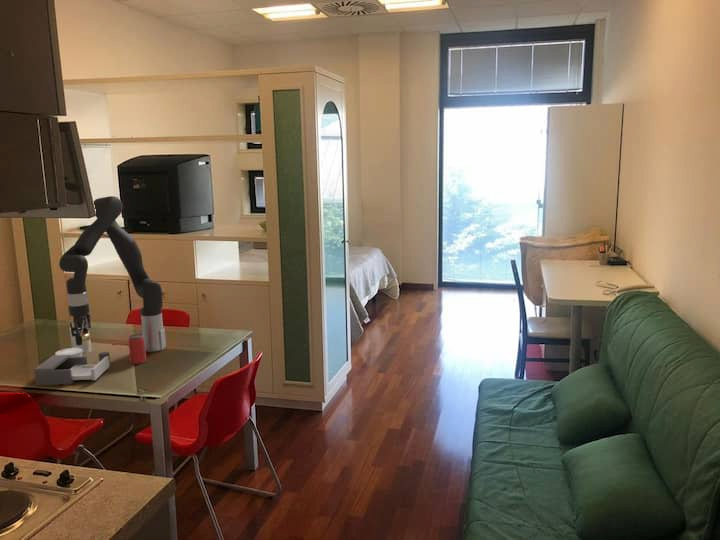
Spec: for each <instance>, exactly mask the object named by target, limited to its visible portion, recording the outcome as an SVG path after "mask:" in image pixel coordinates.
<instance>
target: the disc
mask: <svg viewBox="0 0 720 540" xmlns="http://www.w3.org/2000/svg"><path fill="white" fill-rule="evenodd" d="M81 336H82V341H86V340H89V339H90V340H91V334H90V332H89V333H88V332H82V335H81ZM74 341H76V338H75V337H74Z"/></svg>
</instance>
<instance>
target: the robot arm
mask: <svg viewBox="0 0 720 540" xmlns="http://www.w3.org/2000/svg"><path fill="white" fill-rule="evenodd" d="M93 202H94V205H95V209H96V216H95V217H96V220H94V221H93V222H92V223H91V224H90V225H88V227H86V228H85V229H84V230H83V231H82V233H81V234H80V235H79V237H78V238H77V240H76V241H75V244H73V245H72V246H71V247H70V248H69V249H68V250H66V251H65V252H64V253H63V254H62V255H61V257H60V259H59V261H58V263H59V265H58V266H59V268H60V270H61V271H63V272H65V273H73V277H70V278H68V279H67V280H66V283H65V285H66V291H67V305H68V306H67V307H68V314H69V316H70V317H73V321H72V322H70V323H69V329H70V328H71V333H72V336H74V337H75V338H76V345H82V336H81V335H82V331H83V332H88V331H89V332H90V329H91V328H92V325H91V314H90V307H89V306H90V305H89V296H88V293H87V285H86V281H87V280H86V279H87V276H88V275H87V274H88V269H89V262H88V259H87V258H86V257H87V256H90V255H91V254H92V252H93V250H94V249H95V247H96V246H97V244H98V242H99V241H100V239H101V238H102V236H103V235H104V234H105V233H106V234H107V236H108V237H109V240H110V242H111V244H112V245H113V247H114V249H115V252H116V254H117V255H118V258H119V259H120V261H121V263H122V265H123V267H124V268H125V270H126V272H127V273H128V275H129V277H130V280H131V282H132V285H133V287H134V291H135V293H136V295H137V296H138V297H140V298H141V299H142V301H143V302H142V304H143V305H142V307H141V308H140V318H141V319H140V320H141V327H142V328H141V329H142V335H143V338H144V341H145V351H146V352H151V353H152V352H153V353H154V352H158V351H164V349H165V348H166V347H167V341H166V330H165V327H164V325H163V323H164V322H163V313H162V308H163V290H162V286H161V284H160V283H159V282H157V281H155V280H153V279H151V278H150V277H149V275H148V273H147V271H146V270H145V268H144V264H143V255H142V251H141V250H140V248H139V246H138V245H139V244H138V243H137V242H136V240H135V239H134V237H133V236H132V235H130V234H129V233H128V232H127V231H126V230H124V229H123V228H122V227H121V226H120V224H119V223H118V221H116V220H117V219H118V217H119V216H120V215H121V214H122V212H123V209H124V206H123V202H122V200H121V199H120V198H119V197H117V196H113V195H112V196H111V195H110V196H105V197H103V196H102V197H99V198H96V199H95V200H94V201H93ZM78 328H80V329H78Z"/></svg>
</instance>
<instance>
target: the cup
mask: <svg viewBox="0 0 720 540" xmlns="http://www.w3.org/2000/svg"><path fill="white" fill-rule="evenodd" d="M78 329H80V328H78ZM82 332H83V331H82ZM88 333H90V330H89V331H88ZM69 334H70V335H69V336H70V342H71V348H81V349H82V350H83V352H82V355H83V354H87V353H88V354H89V353H90V352H91V351H92V343H91V338H90V339H89V340H86V341H82V345H76V341H74V336H72V333H71V328H70V327H69Z"/></svg>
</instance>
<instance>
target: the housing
mask: <svg viewBox="0 0 720 540" xmlns="http://www.w3.org/2000/svg"><path fill="white" fill-rule="evenodd" d="M84 364H88V359H87V356H82V357H70V355H55V354H54V355H51V356H50V357H48V358H47V359H46V360H45V361H43V362H42V363H40V364H39V365H38V366H36V367H35V368H34V369H33V370H34V376H35V378H34V379H35V384H36V386H57V385H58V386H59V384H64V385H73V384H74V383H75V382H76V381H77V380H72V374H71V369H70V368H72V367H73V366H74V365H84Z"/></svg>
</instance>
